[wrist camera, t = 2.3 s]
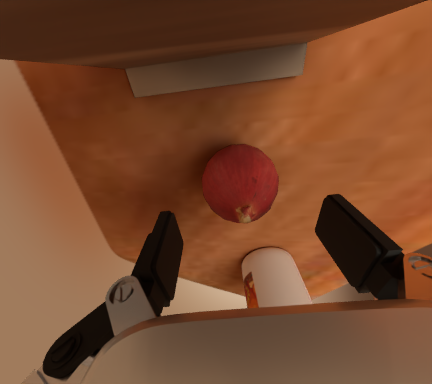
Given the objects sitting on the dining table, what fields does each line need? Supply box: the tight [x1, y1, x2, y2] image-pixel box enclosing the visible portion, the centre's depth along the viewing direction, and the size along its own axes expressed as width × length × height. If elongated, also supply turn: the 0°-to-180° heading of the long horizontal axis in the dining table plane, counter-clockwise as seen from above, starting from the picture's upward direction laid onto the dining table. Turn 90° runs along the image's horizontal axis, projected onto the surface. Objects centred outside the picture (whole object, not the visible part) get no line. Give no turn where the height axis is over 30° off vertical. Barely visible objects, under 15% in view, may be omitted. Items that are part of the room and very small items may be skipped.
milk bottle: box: [242, 247, 313, 308], centre depth 17 cm, size 8×8×20 cm
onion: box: [202, 144, 279, 223], centre depth 13 cm, size 6×6×8 cm
